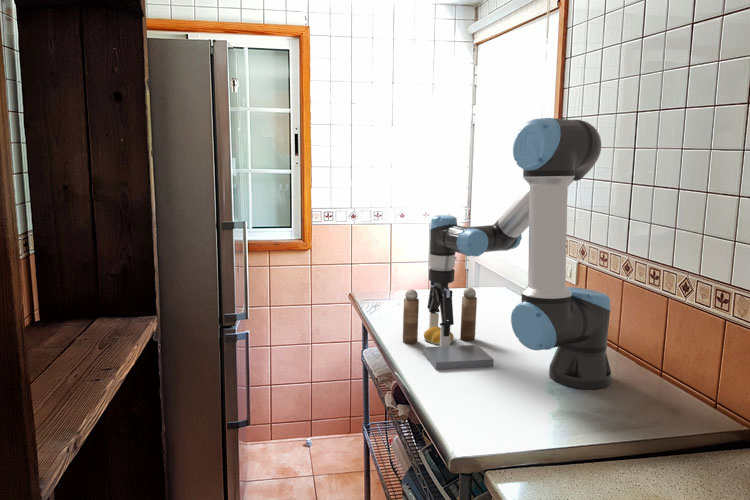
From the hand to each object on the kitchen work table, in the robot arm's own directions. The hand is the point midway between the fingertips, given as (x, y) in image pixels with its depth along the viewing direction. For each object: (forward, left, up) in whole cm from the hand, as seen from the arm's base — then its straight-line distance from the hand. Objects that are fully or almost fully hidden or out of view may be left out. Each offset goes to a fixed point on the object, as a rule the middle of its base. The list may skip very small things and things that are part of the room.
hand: (438, 339), depth 186 cm
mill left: (0, +9, 0) cm, 9 cm away
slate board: (-17, 0, 0) cm, 17 cm away
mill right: (0, -9, 0) cm, 9 cm away
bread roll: (0, 0, -1) cm, 1 cm away
